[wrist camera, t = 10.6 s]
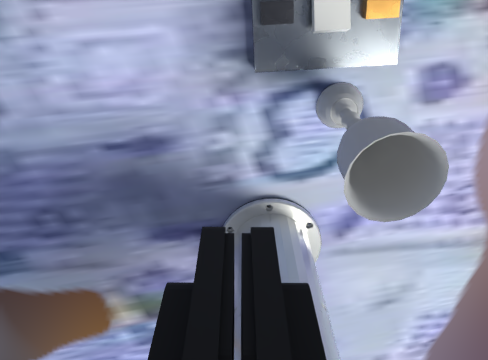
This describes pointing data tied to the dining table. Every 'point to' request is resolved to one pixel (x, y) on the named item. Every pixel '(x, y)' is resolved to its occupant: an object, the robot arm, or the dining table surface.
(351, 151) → the chalice
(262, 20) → the panel
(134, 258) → the dining table surface
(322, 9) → the block
